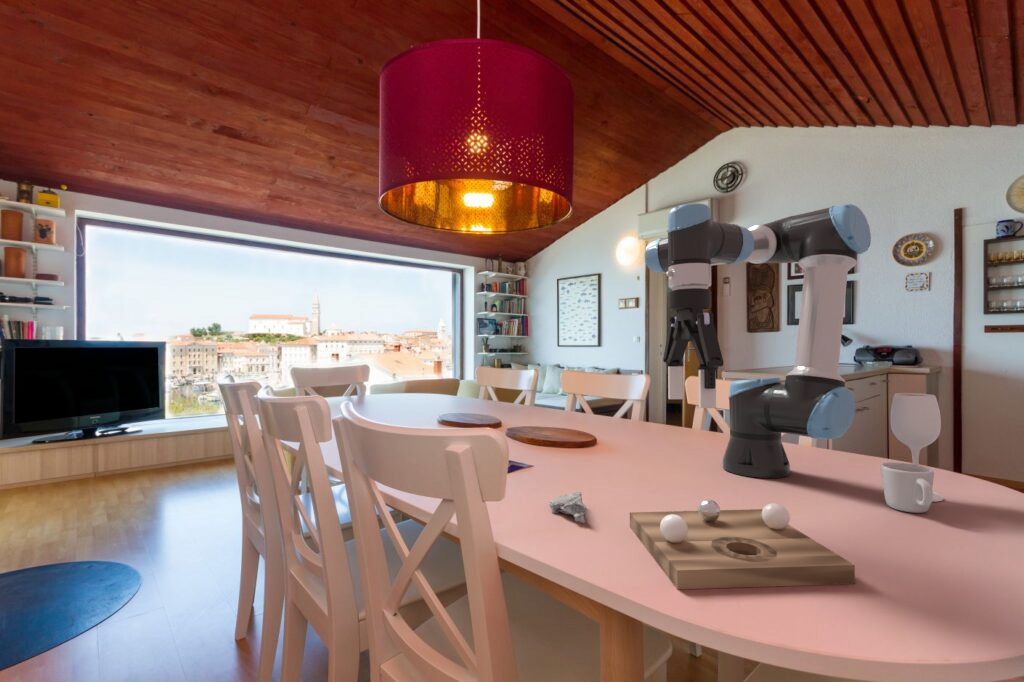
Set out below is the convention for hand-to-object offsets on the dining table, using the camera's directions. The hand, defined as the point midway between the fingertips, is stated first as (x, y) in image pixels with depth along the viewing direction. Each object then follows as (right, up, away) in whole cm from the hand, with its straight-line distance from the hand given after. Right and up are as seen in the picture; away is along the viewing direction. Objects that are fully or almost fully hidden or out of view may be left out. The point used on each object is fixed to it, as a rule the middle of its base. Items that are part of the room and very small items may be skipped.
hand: (690, 403), depth 91 cm
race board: (0, -21, -16) cm, 26 cm away
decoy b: (-9, -16, -18) cm, 26 cm away
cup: (+42, -21, +1) cm, 47 cm away
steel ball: (0, -17, -10) cm, 19 cm away
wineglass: (+51, -21, +11) cm, 56 cm away
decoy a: (+9, -16, -13) cm, 23 cm away
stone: (-22, -22, +3) cm, 31 cm away
